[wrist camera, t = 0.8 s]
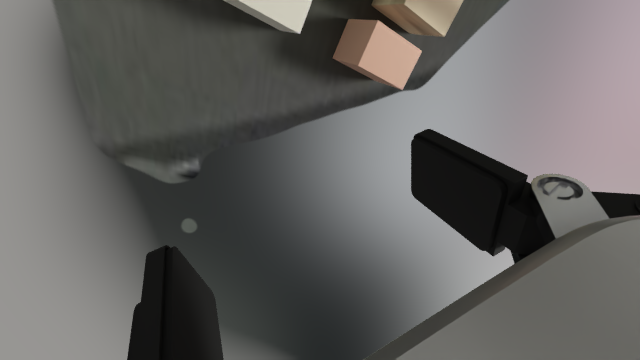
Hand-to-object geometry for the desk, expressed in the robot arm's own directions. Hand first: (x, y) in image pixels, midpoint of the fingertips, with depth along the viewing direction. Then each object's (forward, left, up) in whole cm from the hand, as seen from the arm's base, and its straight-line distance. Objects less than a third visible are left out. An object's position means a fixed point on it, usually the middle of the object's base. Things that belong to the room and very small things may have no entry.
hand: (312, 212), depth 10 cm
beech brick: (-16, +17, -25) cm, 34 cm away
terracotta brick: (-9, +15, -25) cm, 30 cm away
